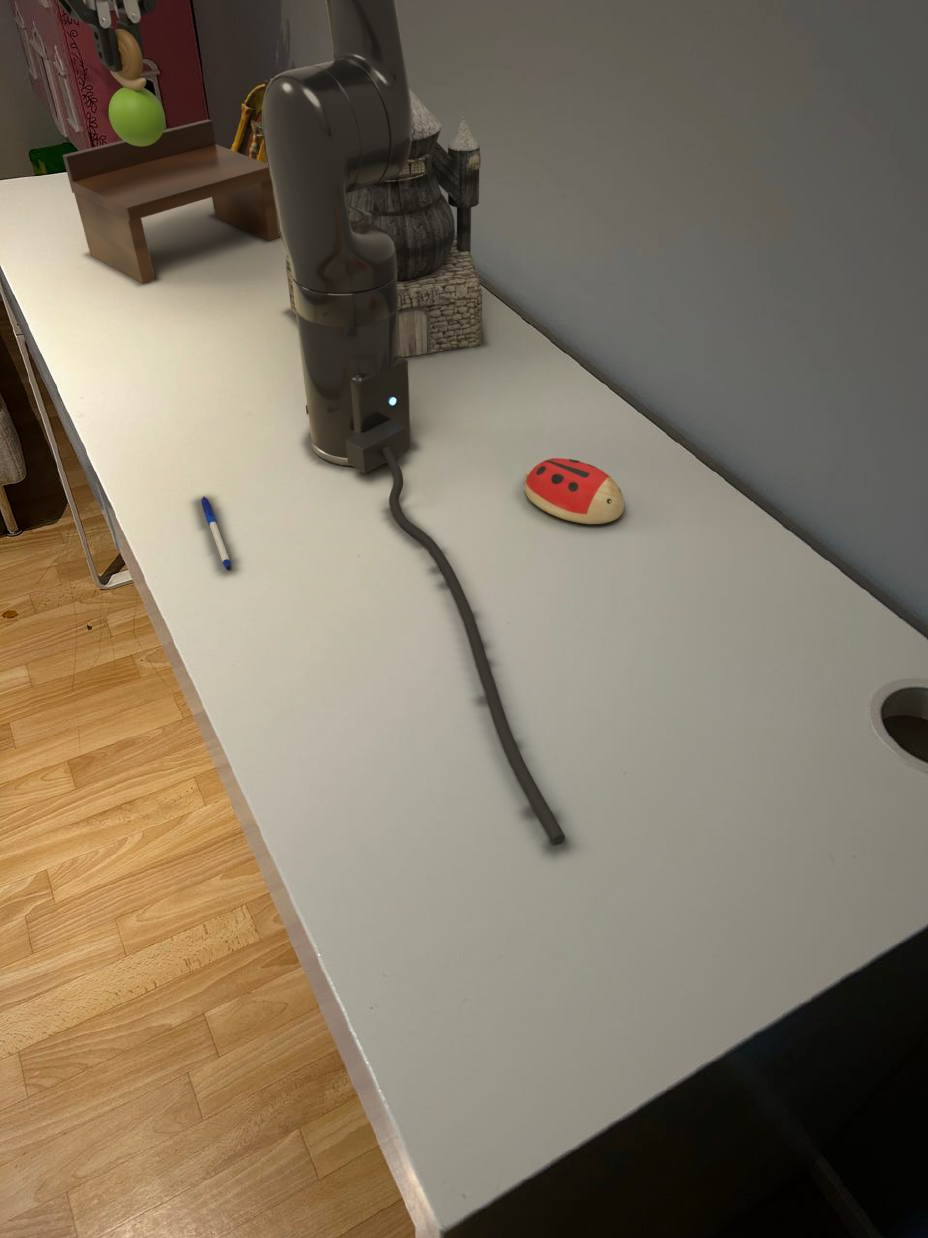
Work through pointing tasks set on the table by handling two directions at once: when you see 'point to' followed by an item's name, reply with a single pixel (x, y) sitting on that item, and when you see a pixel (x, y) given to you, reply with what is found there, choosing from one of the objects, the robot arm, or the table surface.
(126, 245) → the miniature wooden bench
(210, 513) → the ballpoint pen
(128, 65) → the snail figurine
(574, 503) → the ladybug figurine
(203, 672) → the table surface
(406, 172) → the miniature castle
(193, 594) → the table surface
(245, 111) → the shrine
